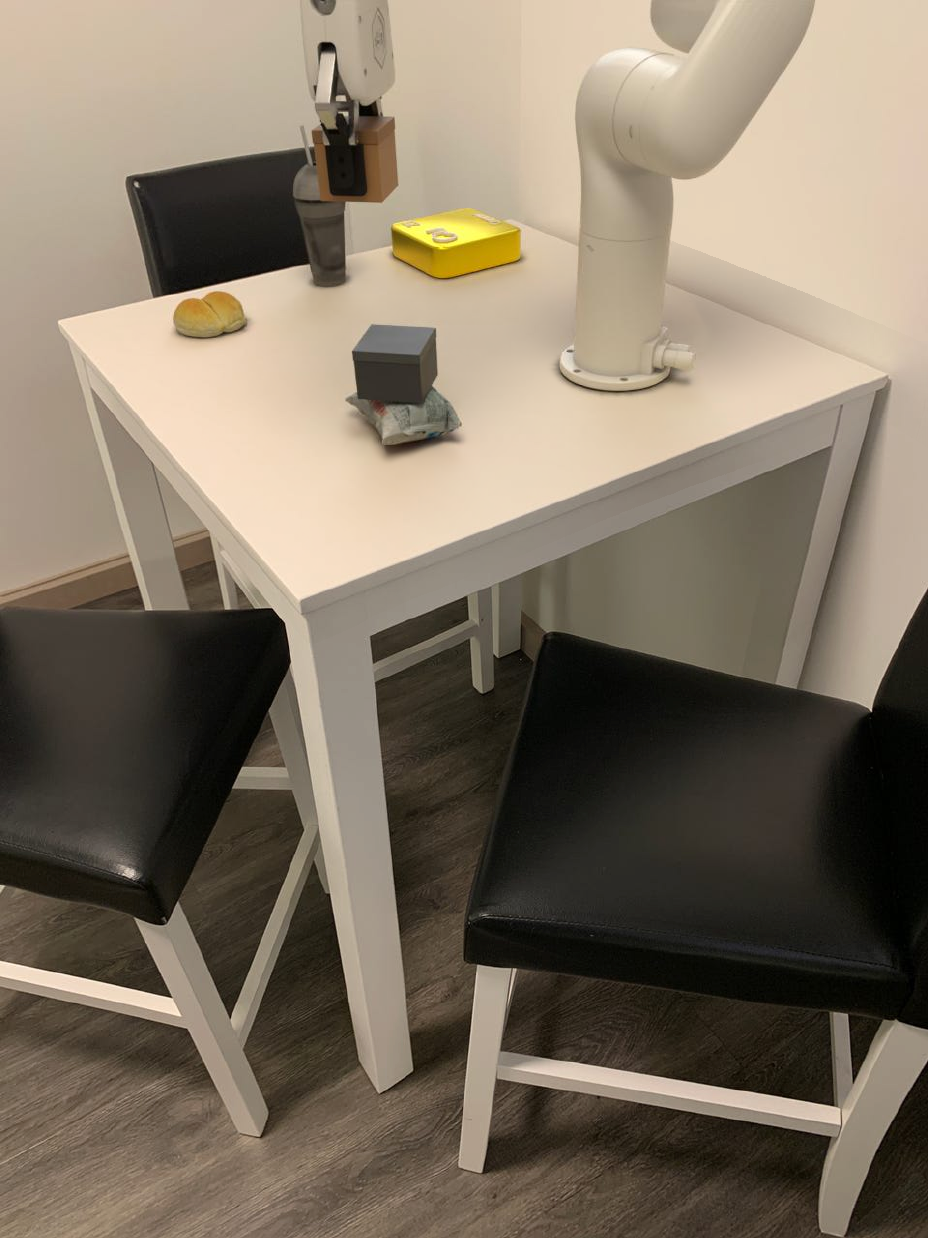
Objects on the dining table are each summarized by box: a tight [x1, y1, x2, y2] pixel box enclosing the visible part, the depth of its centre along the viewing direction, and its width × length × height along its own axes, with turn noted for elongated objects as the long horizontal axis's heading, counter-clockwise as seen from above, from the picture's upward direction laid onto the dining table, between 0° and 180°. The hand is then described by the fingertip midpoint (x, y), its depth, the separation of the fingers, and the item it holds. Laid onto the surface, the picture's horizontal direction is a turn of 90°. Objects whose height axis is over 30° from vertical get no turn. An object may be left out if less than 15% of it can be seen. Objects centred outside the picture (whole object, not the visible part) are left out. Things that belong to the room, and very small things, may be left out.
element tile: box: [390, 207, 522, 279], centre depth 138 cm, size 15×15×5 cm
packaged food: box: [345, 385, 463, 446], centre depth 96 cm, size 9×12×5 cm
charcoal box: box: [351, 323, 439, 403], centre depth 92 cm, size 7×7×5 cm
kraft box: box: [311, 115, 399, 204], centre depth 81 cm, size 6×6×6 cm
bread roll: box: [172, 290, 248, 338], centre depth 119 cm, size 8×9×4 cm
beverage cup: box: [292, 125, 347, 288], centre depth 126 cm, size 7×7×20 cm
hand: (359, 182), depth 82 cm, fingers closed on kraft box, 5 cm apart
